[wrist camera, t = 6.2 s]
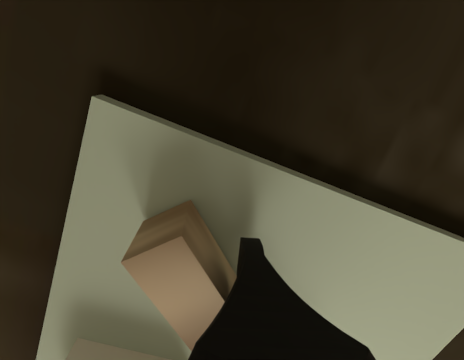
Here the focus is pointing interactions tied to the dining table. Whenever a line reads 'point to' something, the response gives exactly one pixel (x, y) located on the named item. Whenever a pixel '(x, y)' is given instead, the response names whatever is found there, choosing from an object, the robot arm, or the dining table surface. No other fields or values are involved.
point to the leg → (181, 269)
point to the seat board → (228, 239)
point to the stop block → (105, 352)
